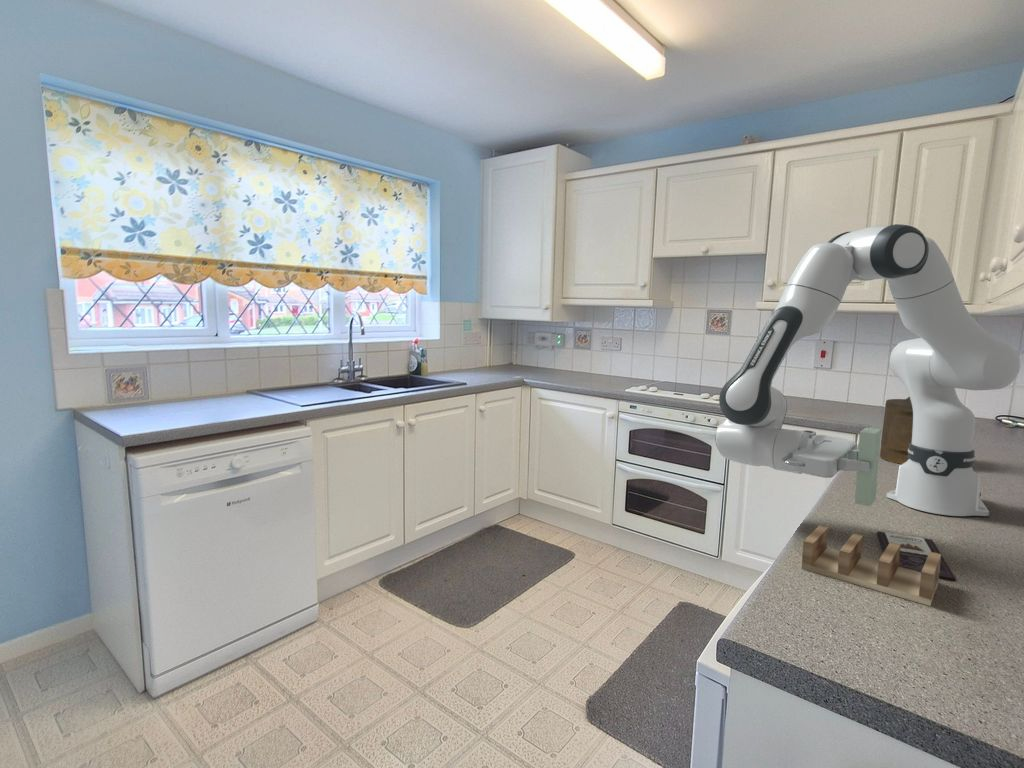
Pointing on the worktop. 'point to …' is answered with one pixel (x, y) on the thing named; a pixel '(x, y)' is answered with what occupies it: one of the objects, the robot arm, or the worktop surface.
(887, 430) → the wooden container
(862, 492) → the tall mint green block
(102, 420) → the worktop surface
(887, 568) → the rack
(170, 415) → the worktop surface
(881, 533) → the chocolate bar
